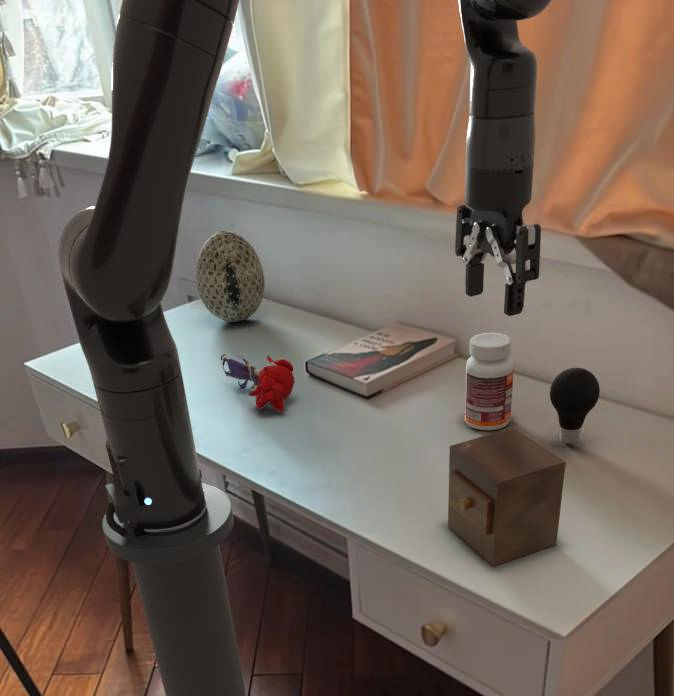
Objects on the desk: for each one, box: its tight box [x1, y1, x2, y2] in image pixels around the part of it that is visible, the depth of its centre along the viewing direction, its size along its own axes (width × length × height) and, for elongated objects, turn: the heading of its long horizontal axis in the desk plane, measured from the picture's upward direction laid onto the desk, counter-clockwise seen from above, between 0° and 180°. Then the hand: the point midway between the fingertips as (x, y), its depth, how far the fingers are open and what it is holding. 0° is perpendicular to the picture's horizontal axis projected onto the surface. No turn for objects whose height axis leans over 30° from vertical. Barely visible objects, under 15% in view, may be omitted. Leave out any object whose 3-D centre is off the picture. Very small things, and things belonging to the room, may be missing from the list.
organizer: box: [447, 427, 567, 567], centre depth 89 cm, size 9×9×10 cm
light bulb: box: [549, 367, 601, 446], centre depth 105 cm, size 6×6×10 cm
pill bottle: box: [463, 332, 515, 431], centre depth 111 cm, size 6×6×11 cm
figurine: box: [220, 354, 296, 413], centre depth 123 cm, size 6×8×15 cm
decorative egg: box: [195, 230, 266, 323], centre depth 148 cm, size 12×12×15 cm
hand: (493, 304), depth 105 cm, fingers open, 8 cm apart
